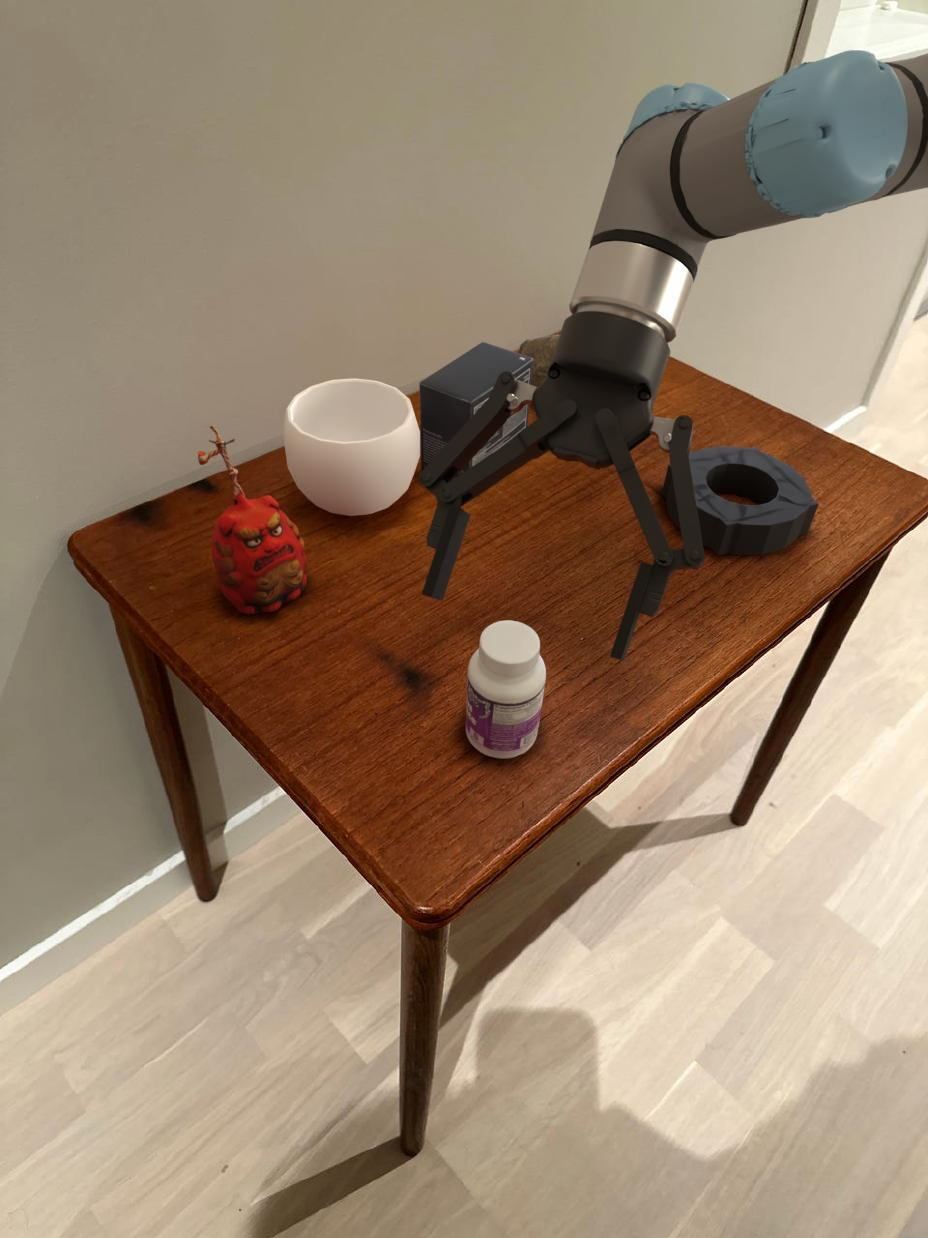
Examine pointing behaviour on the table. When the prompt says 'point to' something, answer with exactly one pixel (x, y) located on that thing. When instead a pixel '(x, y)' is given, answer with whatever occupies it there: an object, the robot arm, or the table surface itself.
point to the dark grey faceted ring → (754, 477)
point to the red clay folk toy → (255, 548)
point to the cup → (351, 445)
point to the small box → (468, 399)
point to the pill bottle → (505, 690)
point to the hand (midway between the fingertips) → (521, 627)
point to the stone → (539, 356)
